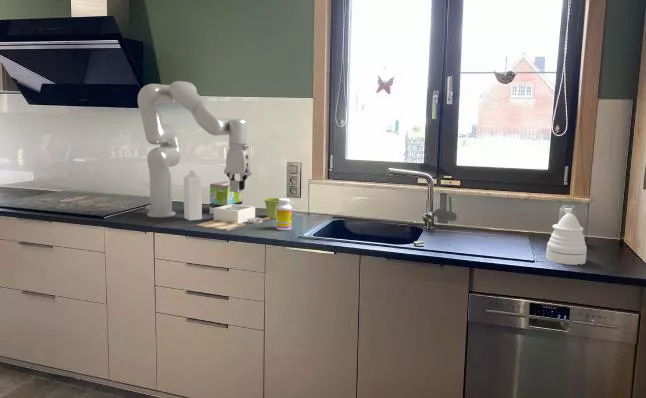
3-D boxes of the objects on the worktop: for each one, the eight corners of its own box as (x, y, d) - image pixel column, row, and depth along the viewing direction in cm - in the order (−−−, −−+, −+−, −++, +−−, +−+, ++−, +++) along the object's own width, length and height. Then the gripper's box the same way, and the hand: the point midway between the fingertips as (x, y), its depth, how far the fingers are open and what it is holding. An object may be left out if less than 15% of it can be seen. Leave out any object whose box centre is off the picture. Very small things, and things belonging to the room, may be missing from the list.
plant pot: (267, 215, 261) (267, 197, 259) (286, 216, 259) (286, 198, 257) (261, 218, 252) (261, 200, 250) (280, 220, 250) (281, 201, 248)
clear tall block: (553, 241, 220) (556, 204, 218) (566, 241, 222) (569, 204, 219) (563, 245, 214) (566, 207, 212) (576, 244, 216) (580, 207, 213)
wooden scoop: (253, 224, 238) (253, 220, 238) (247, 223, 241) (247, 218, 241) (272, 221, 247) (272, 217, 246) (266, 219, 249) (266, 215, 249)
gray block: (235, 192, 243) (236, 181, 243) (242, 193, 241) (244, 181, 242) (229, 191, 239) (231, 180, 239) (237, 192, 237) (238, 180, 238)
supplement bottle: (292, 230, 228) (292, 200, 226) (276, 231, 227) (276, 200, 225) (290, 227, 235) (291, 198, 233) (275, 227, 234) (275, 198, 232)
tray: (196, 227, 231) (196, 224, 231) (215, 221, 242) (215, 219, 242) (226, 231, 224) (226, 229, 223) (245, 226, 235) (245, 223, 235)
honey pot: (541, 254, 199) (545, 205, 197) (577, 255, 198) (582, 207, 195) (552, 263, 187) (557, 212, 184) (591, 265, 186) (596, 213, 183)
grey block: (231, 217, 251) (231, 206, 251) (238, 218, 250) (238, 207, 249) (225, 218, 248) (225, 208, 247) (232, 219, 246) (232, 208, 245)
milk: (189, 221, 243) (188, 172, 239) (184, 218, 247) (183, 170, 244) (202, 219, 246) (201, 171, 243) (196, 217, 251) (195, 170, 247)
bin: (213, 221, 244) (213, 208, 243) (231, 216, 255) (231, 204, 254) (237, 224, 238) (237, 211, 237) (255, 219, 249) (255, 206, 248)
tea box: (227, 216, 257) (227, 185, 254) (209, 214, 260) (208, 183, 258) (243, 211, 270) (243, 181, 268) (225, 209, 274) (225, 180, 272)
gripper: (258, 148, 238) (258, 189, 241) (226, 146, 245) (226, 186, 248) (249, 149, 231) (248, 191, 234) (216, 146, 238) (216, 188, 241)
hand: (237, 188), depth 241 cm, fingers closed on gray block, 3 cm apart
